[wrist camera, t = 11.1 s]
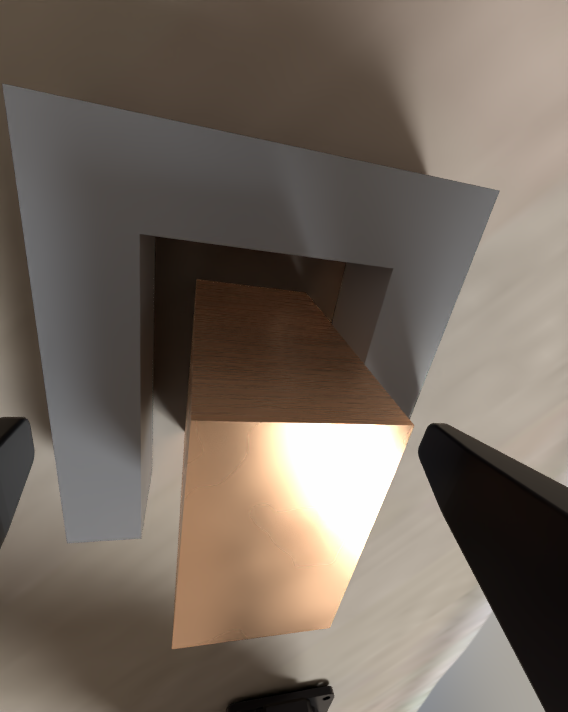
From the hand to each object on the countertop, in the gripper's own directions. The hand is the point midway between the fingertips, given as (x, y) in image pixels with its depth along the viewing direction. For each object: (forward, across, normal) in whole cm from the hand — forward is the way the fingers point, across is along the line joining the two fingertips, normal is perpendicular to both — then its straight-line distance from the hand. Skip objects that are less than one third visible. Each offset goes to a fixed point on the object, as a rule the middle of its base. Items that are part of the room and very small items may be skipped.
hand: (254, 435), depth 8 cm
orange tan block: (+3, 0, 0) cm, 3 cm away
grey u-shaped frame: (+3, 0, 0) cm, 3 cm away
